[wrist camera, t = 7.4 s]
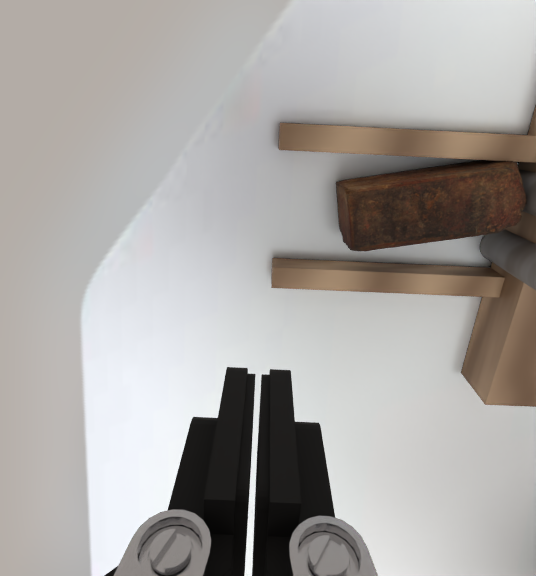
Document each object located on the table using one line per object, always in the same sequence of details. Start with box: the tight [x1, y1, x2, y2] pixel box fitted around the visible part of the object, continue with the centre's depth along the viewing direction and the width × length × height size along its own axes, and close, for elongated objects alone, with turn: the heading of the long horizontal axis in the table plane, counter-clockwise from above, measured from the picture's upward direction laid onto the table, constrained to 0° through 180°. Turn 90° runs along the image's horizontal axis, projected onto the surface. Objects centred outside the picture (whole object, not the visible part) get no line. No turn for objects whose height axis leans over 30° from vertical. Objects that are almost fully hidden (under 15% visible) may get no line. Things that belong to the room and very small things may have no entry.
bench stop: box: [272, 106, 536, 407], centre depth 25 cm, size 20×26×7 cm
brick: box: [336, 160, 527, 251], centre depth 26 cm, size 11×4×5 cm, turn 98°
